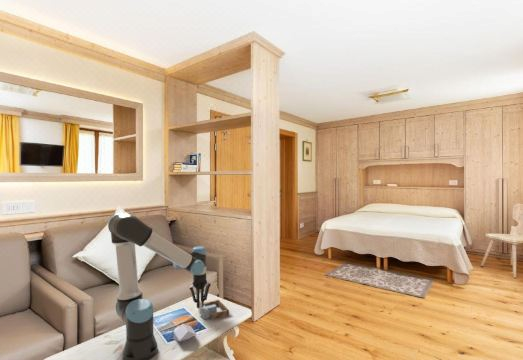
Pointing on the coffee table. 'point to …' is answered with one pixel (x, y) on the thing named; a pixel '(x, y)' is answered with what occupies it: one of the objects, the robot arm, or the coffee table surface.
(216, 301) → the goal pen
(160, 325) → the coffee table surface
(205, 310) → the t block
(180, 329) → the pale lavender faceted block
